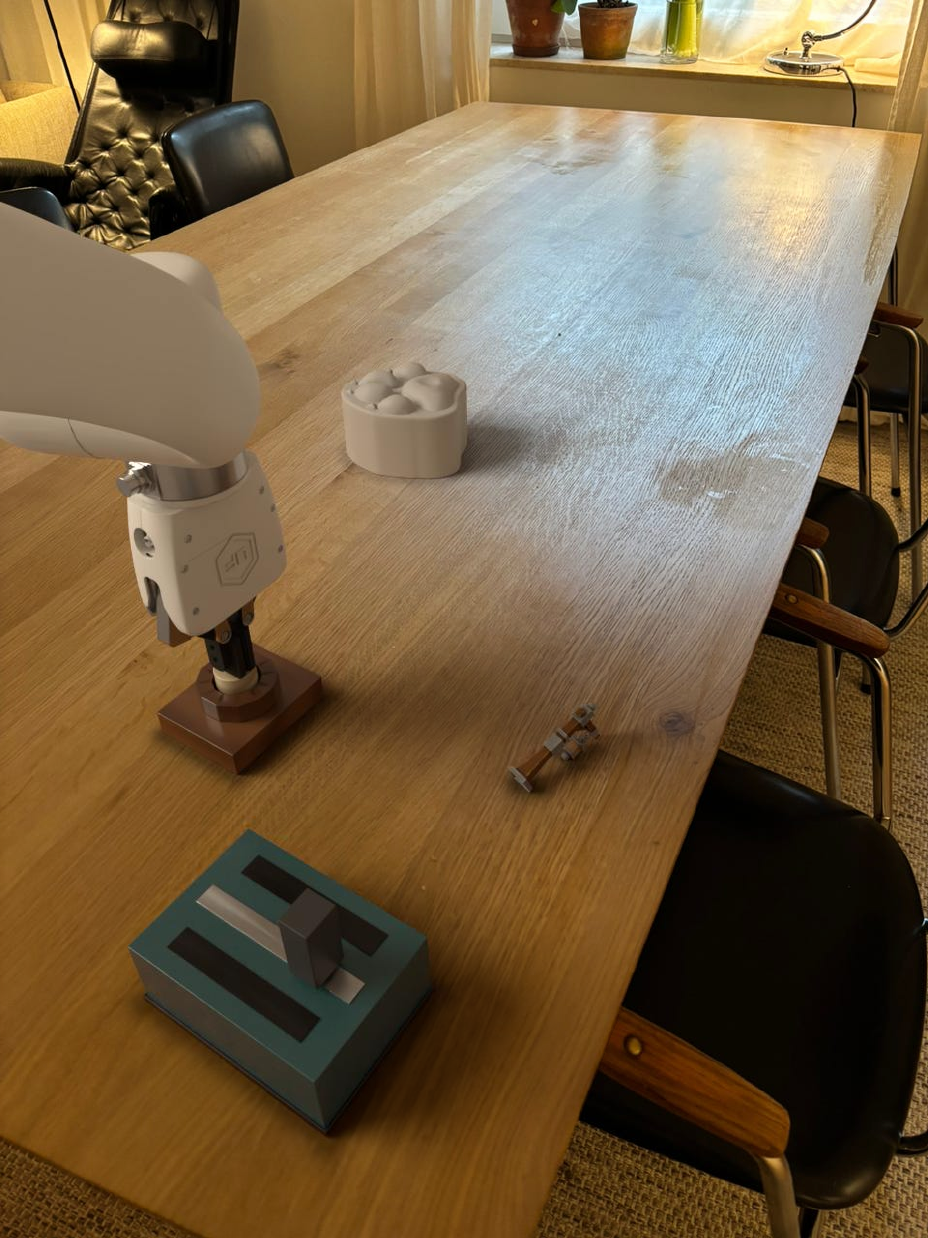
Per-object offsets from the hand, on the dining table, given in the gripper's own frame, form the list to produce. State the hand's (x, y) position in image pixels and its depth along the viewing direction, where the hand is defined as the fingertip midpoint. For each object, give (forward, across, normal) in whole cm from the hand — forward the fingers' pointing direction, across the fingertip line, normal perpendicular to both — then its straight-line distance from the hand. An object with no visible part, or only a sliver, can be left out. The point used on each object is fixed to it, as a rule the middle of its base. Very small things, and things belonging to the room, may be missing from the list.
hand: (233, 666), depth 75 cm
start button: (+2, 0, 0) cm, 2 cm away
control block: (+5, 0, 0) cm, 5 cm away
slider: (-1, -16, -22) cm, 27 cm away
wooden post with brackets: (+5, +9, -23) cm, 25 cm away
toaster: (+5, -16, -19) cm, 25 cm away
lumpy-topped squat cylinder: (+5, +39, +13) cm, 42 cm away
